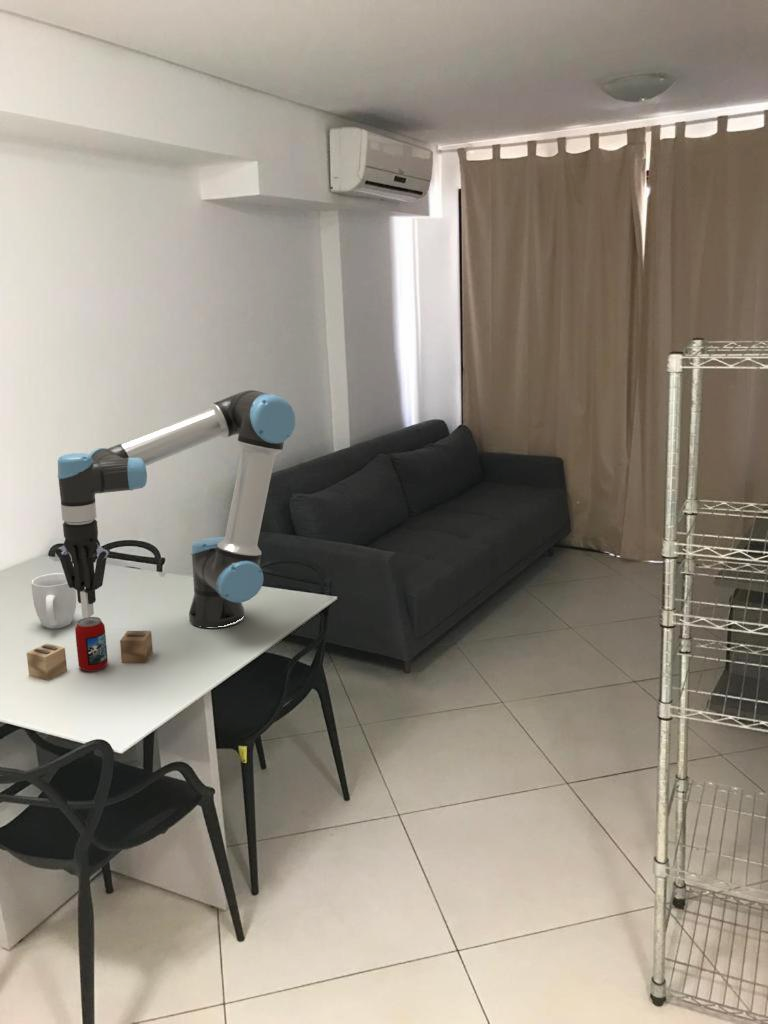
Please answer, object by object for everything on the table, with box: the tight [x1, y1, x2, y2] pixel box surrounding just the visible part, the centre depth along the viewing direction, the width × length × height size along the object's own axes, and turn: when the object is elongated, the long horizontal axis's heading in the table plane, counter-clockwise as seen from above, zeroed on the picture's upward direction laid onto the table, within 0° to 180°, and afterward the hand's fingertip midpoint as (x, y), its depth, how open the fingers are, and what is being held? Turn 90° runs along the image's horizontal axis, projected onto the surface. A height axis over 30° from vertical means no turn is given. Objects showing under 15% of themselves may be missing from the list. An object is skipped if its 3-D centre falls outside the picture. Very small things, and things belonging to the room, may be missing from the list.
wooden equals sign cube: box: [26, 642, 68, 682], centre depth 199 cm, size 6×6×6 cm
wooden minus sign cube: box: [119, 630, 154, 664], centre depth 207 cm, size 6×6×6 cm
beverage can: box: [74, 616, 109, 672], centre depth 201 cm, size 7×7×12 cm
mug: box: [31, 572, 77, 630], centre depth 225 cm, size 15×11×13 cm
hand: (88, 615), depth 199 cm, fingers closed
